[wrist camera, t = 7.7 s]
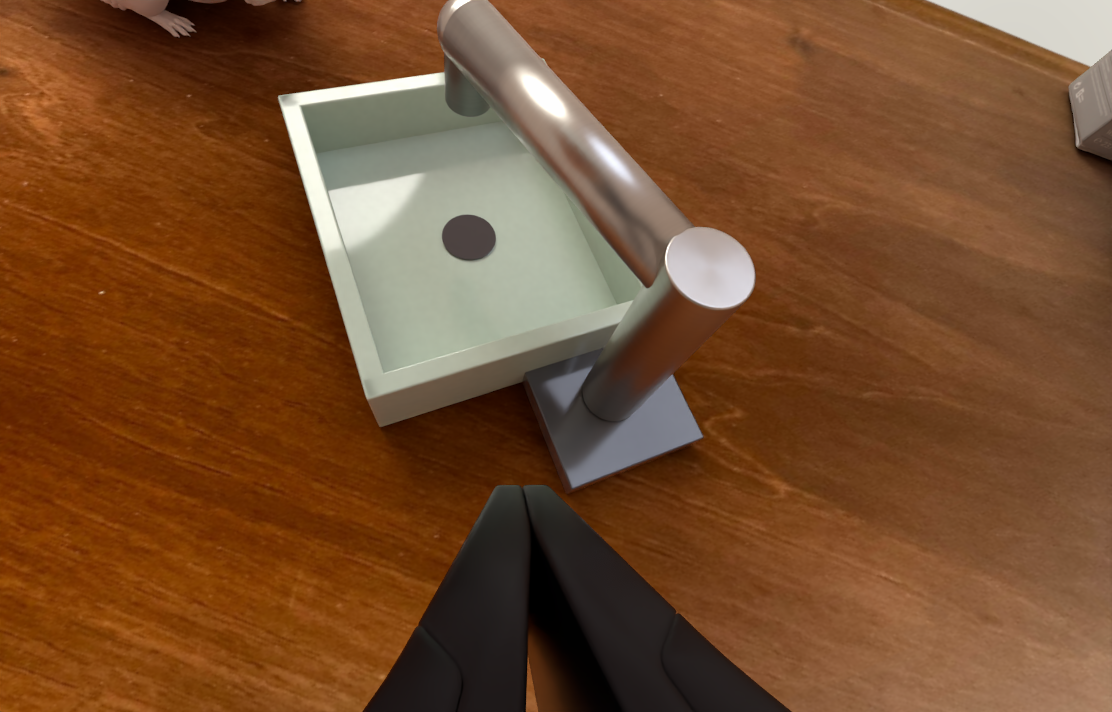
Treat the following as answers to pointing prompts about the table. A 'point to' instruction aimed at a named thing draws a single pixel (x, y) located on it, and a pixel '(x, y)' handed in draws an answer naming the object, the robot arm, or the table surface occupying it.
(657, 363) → the faucet
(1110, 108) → the cosmetic box
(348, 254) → the sink
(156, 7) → the figurine
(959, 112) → the table surface
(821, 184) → the table surface
